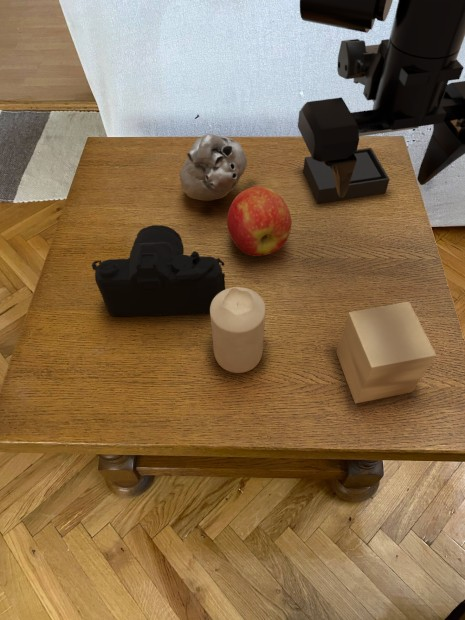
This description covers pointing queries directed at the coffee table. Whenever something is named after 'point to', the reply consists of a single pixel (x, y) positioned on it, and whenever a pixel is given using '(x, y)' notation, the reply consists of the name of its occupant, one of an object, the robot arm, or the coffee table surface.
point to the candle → (237, 328)
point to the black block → (364, 169)
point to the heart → (212, 167)
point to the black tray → (324, 180)
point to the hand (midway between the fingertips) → (380, 188)
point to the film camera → (159, 277)
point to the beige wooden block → (383, 351)
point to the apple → (259, 221)
